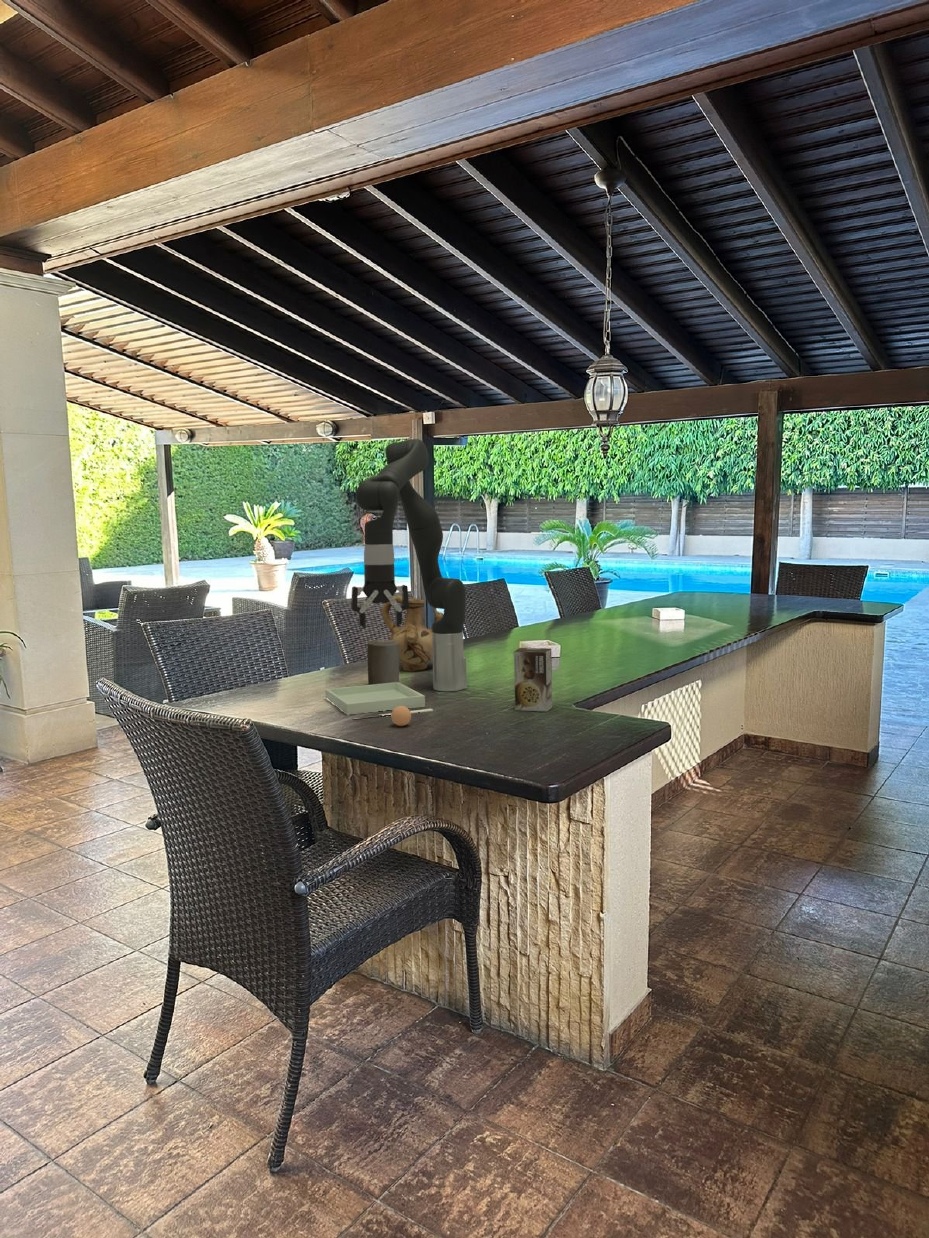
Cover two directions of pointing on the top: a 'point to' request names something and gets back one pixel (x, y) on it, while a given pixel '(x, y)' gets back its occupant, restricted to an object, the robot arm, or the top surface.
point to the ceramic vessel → (412, 635)
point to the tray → (375, 697)
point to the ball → (401, 715)
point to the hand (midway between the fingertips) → (380, 627)
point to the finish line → (413, 711)
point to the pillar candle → (383, 661)
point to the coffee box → (533, 679)
